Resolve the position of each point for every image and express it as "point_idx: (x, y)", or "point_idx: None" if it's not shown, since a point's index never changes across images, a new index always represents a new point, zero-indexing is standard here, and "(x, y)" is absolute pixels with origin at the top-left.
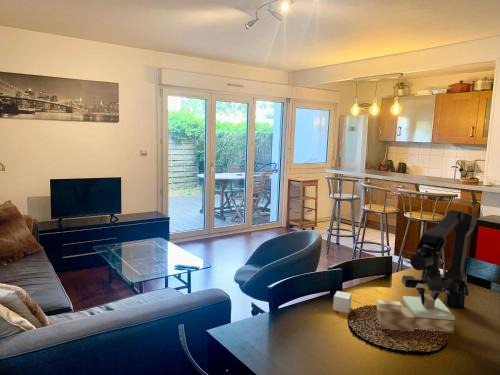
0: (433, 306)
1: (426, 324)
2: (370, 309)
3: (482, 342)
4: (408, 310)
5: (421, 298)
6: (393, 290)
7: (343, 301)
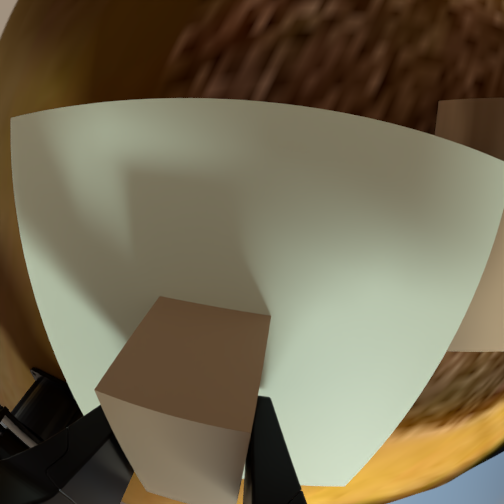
0: (153, 324)
1: None
2: (491, 386)
3: (24, 46)
4: (494, 284)
5: (293, 467)
6: None
7: None
